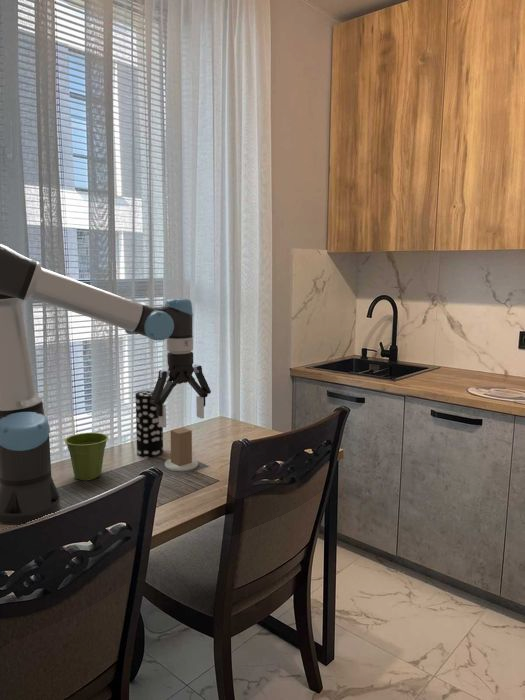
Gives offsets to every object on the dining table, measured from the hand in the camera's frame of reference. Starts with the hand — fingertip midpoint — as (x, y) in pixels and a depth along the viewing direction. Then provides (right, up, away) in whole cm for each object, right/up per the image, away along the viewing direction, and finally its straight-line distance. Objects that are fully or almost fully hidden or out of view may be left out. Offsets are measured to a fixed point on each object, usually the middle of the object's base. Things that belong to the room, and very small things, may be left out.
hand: (182, 422), depth 159 cm
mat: (-1, -14, +2) cm, 14 cm away
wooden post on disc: (-1, -13, +2) cm, 14 cm away
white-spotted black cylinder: (-12, -12, +13) cm, 22 cm away
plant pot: (-26, -15, -6) cm, 31 cm away
